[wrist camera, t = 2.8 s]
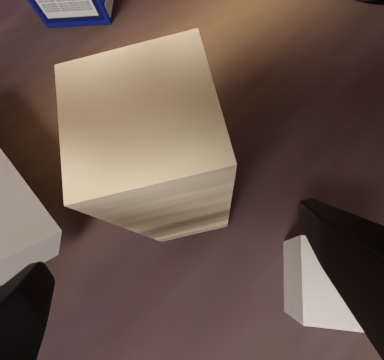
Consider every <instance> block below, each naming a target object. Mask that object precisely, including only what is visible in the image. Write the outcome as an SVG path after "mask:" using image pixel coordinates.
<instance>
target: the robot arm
mask: <svg viewBox="0 0 384 360" xmlns="http://www.w3.org/2000/svg"><path fill="white" fill-rule="evenodd" d="M299 220H300V225H301V228H302V230H303V232H304V234H305V236H306V238H307V240H308V242H309V244H310V246H311V248H312V250H313V251H314V253H315V255H316V257H317V259H318V261H319V263H320V265H321V267H322V268H323V270H324V272H325V273H326V275H327V276H328V278H329V279H330V281H331V282H332V284H333V285H334V287H335V288H336V290H337V291H338V293H339V294H340V296H341V297H342V299H343V300H344V302H345V304H346V305H347V307H348V308H349V310H350V311H351V313H352V314H353V316H354V317H355V319H356V320H357V322H358V323H359V325H360V326H361V328H362V329H363V331H364V332H365V334H366V335H367V337H368V338H369V340H370V342H371V343H372V345H373V346H374V348H375V349H376V351H377V352H378V354H379V355H380V357H381V358H382V360H384V226H382V225H380V224H377V223H374V222H372V221H369V220H367V219H364V218H361V217H359V216H356V215H354V214H351V213H349V212H346V211H343V210H341V209H338V208H336V207H333V206H330V205H328V204H325V203H323V202H320V201H318V200H315V199H312V198H310V199H306V200H302V201H300V202H299ZM54 285H55V280H54V277H53V275H52V274H51V272H50V271H49V269H48V268H47V266H46V265H45V263H43V262H41V261H39V262H35V263H31V264H29V265H27V266H26V267H25V268H24V269H22V270H21V271H20V272H19V273H17V274H16V275H15V276H14V277H12V278H11V279H10V280H9V281H7V282H6V283H5V284H4V285H2V286H1V287H0V360H36V359H37V356H38V353H39V349H40V346H41V343H42V339H43V336H44V333H45V329H46V325H47V320H48V316H49V310H50V305H51V300H52V295H53V290H54Z"/></svg>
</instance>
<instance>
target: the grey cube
mask: <svg viewBox="0 0 384 360" xmlns="http://www.w3.org/2000/svg"><path fill="white" fill-rule="evenodd" d="M283 246H284V312H286V313H287V314H288V315H290V316H291V317H292V318H294V319H295V320H296V321H298V322H299V323H301V324H302V325H303V326H311V327H320V328H329V329H338V330H346V331H355V332H364V331H363V329H362V328H361V326H360V325H359V323H358V322H357V320H356V319H355V317H354V316H353V314H352V313H351V311H350V310H349V308H348V307H347V305H346V304H345V302H344V300H343V299H342V297H341V296H340V294H339V293H338V291H337V290H336V288H335V287H334V285H333V284H332V282H331V281H330V279H329V278H328V276H327V275H326V273H325V272H324V270H323V268H322V267H321V265H320V263H319V261H318V259H317V257H316V255H315V253H314V251H313V250H312V248H311V246H310V244H309V242H308V240H307V238H306V236H305V235H300V236H297V237H294V238H292V239H289V240H286V241H284V242H283ZM364 333H365V332H364Z"/></svg>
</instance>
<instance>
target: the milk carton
mask: <svg viewBox="0 0 384 360" xmlns="http://www.w3.org/2000/svg"><path fill="white" fill-rule="evenodd" d="M27 1H28V2H29V3H30V5H31V6H32V8H33V9H34V10H35V12H36V13H37V14H38V16H39V17H40V18H41V20H42V21H43V22H44V24H45V25H46V27H48V28H52V27H70V26H87V25H105V24H111V20H112V14H113V8H114V2H115V0H27Z"/></svg>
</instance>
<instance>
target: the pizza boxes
mask: <svg viewBox="0 0 384 360" xmlns="http://www.w3.org/2000/svg"><path fill="white" fill-rule="evenodd" d="M61 233H62V230H61V229H60V228H59V226H58V225H57V224H56V222H55V221H54V219H53V218H52V217H51V215H50V214H49V213H48V211H47V210H46V209H45V207H44V206H43V205H42V203H41V202H40V201H39V199H38V198H37V197H36V195H35V194H34V193H33V191H32V190H31V189H30V187H29V186H28V185H27V183H26V182H25V181H24V179H23V178H22V177H21V175H20V174H19V173H18V171H17V170H16V169H15V167H14V166H13V164H12V163H11V162H10V160H9V159H8V158H7V156H6V155H5V154H4V152H3V151H2V150H1V148H0V286H2V285H3V284H5V283H6V282H7V281H9V280H10V279H11V278H12V277H14V276H15V275H16V274H17V273H19V272H20V271H21V270H22V269H24V268H25V267H26V266H27V265H29V264H31V263H35V262H39V261H41V262H43V263H44V262H46V261H48V260H50V259H52V258H53V257H55V256H57V255H58V254H59V247H60V240H61Z"/></svg>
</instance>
